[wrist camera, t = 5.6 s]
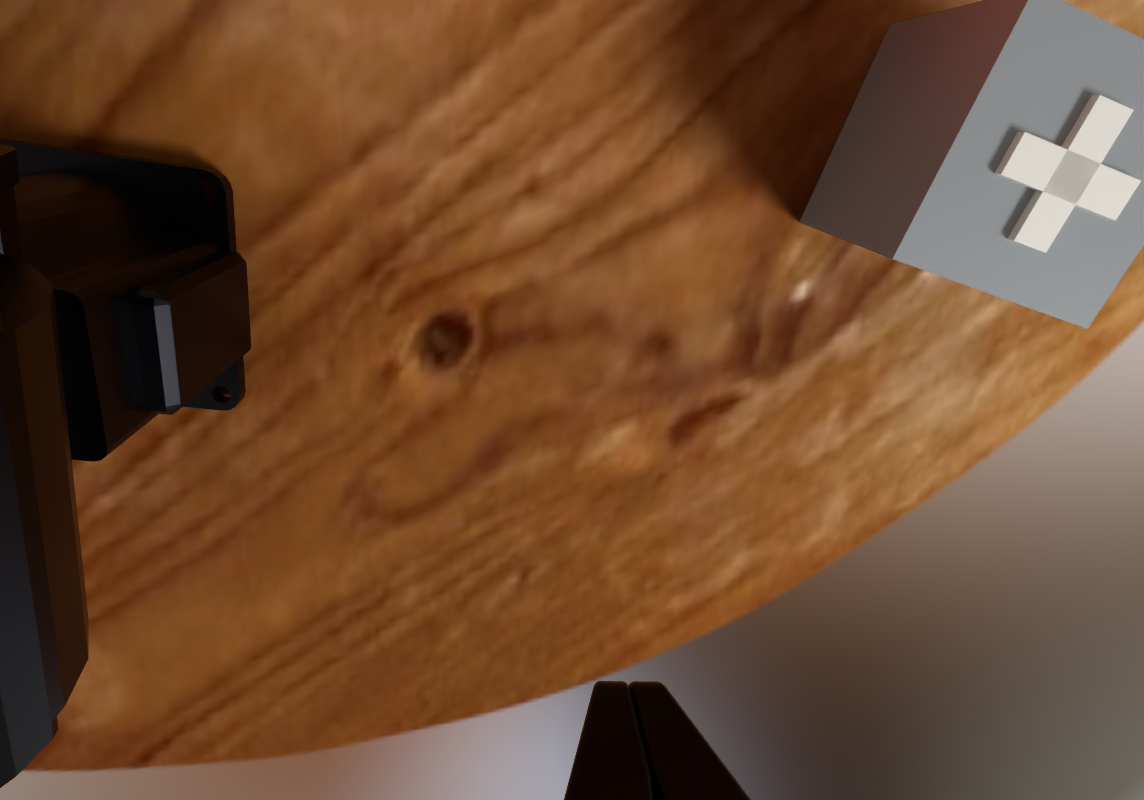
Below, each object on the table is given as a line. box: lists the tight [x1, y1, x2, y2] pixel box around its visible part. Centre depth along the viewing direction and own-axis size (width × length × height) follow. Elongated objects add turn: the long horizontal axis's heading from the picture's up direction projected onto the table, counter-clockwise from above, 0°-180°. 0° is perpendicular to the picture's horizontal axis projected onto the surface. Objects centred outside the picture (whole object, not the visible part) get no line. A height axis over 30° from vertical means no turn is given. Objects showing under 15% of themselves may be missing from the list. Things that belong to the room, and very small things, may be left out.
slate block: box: [800, 0, 1144, 329], centre depth 15 cm, size 5×5×5 cm
